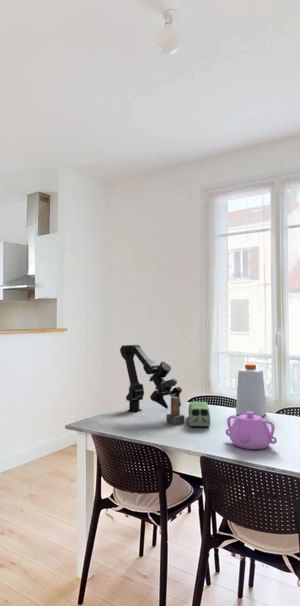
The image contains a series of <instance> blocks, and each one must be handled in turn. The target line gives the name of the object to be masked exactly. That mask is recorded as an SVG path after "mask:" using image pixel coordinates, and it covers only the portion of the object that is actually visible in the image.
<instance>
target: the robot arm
mask: <svg viewBox="0 0 300 606" xmlns="http://www.w3.org/2000/svg"><path fill="white" fill-rule="evenodd" d="M119 351H120V352H119V353H120V355H121V357H122V358H123V360H124V361H125V364H126V370H127V375H128V379H129V386H128V393H127V395H126V397H125V398H126V399H125V400H126V401H128V402H129V403H128V404H129V406H128V409H126V411H127V412H132V413H137V412H140V411H142V410H143V409H142V408H140V407H141V406H140V402H141V401H143V399H144V395H145V389H144V384H143V383H140V382H139V379H138V375H137V369H136V366H135V365H136V364H135V356H136V357H137V359H138V360H139V361H140V363H141V364H142V367H143V371H144V372H145V373H146V375H151V376H150V377H149V382H153V383H154V385H155V387H154V389H155V390H153V392H152V393H151V395H150V397H149V398H150V400H151V401H152V402H153V403H157V404H158V405H160V406H162V407H163V408H165V409H167V410H168V409H169V406H168V403H167V402H166V400H165V398H164V397H165V396H170V398H171V397H180V395H181V394H182V392H183V389H182V388H181V387H180V386H177V387H174V386H176V385H177V384H178V381H177V379H176V378H174V377H172V378H171V379H168V380H165V379H164V378H166V377H167V376H168V375H169V373H170V372H171V371H172V367H171V365H169V364H168V363H166V362H165V361H161V362H160V364H158V363H156V361H154V360H151V358H149V357H148V355H147V354H146V353H145V352H144V350H143V349H142V348H141V345H139V344H126V345H124V344H123V345H122V346H121V347H120V348H119ZM181 406H182V403H181V401H180V407H181Z"/></svg>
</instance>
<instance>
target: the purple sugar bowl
mask: <svg viewBox="0 0 300 606" xmlns="http://www.w3.org/2000/svg"><path fill="white" fill-rule="evenodd" d="M231 419H234V421H233V423H232V425H231ZM226 423H227V429H225V434H226V436H228V437H229V439H230V442H231V443H232V444H233V445H234V446H236V447H238V448H242V449H245V450H254V449H258V450H263V449H266V448H268V446H269V445H270V444H272V445H274V444H276V443H277V441H278V439H277V437H276V436H274V433H275V424H274V423H273V422H272V421H270V420H269V419H267V420H265V419H264V418H263V417H260V416H257V415H254V412H250V411H248V412H246V414H245V415H237V416H236V415H230V416H228V418H227V419H226ZM269 425H270V428H271V430H270V428H269Z"/></svg>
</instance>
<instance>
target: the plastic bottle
mask: <svg viewBox="0 0 300 606" xmlns="http://www.w3.org/2000/svg"><path fill="white" fill-rule="evenodd" d="M237 372H238V373H237V388H236V406H235V407H236V408H235V413H236V415H237V416H239V415H245V414H246V412H248V411H250V412H254V415H257V416H260V417H262V418H263V417H264V416H265V415H266V413H267V405H266V404H267V403H266V393H265V392H266V391H265V380H264V372H263V370H262V369H260V368H259V369H258V368H257V365H256V364H254V363H246V364H245V365H244V368H241V369H239V370H238V371H237Z"/></svg>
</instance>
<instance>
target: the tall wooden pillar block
mask: <svg viewBox="0 0 300 606" xmlns="http://www.w3.org/2000/svg"><path fill="white" fill-rule="evenodd" d="M180 402H181V398H180V397H171V396H170V413H168V414H166V415H165V416H166V424H167V423H168V424H170V425H174V426H178V425H182V424H185V415H184V414H181V413H180V412H181V409H180V408H181V406H180Z"/></svg>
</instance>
